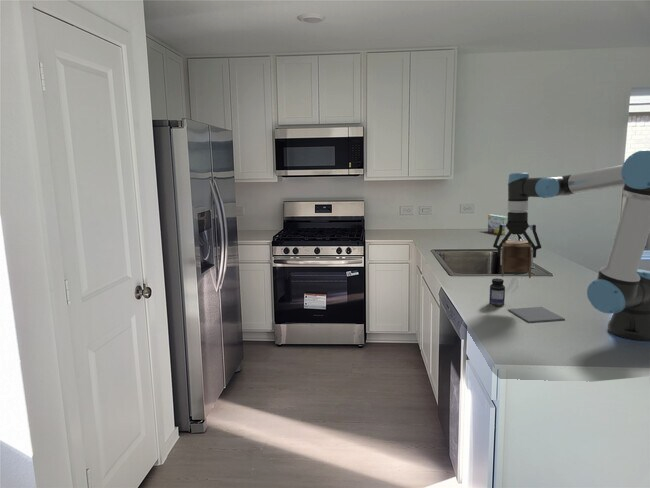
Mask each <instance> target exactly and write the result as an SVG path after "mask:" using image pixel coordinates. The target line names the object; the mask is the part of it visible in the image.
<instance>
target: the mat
mask: <svg viewBox="0 0 650 488" xmlns="http://www.w3.org/2000/svg"><path fill="white" fill-rule="evenodd" d="M507 311H509V313H512V314H513V315H515V316H517V317H518V318H520V319H522V320H523V321H525V322H526V323H529V324H532V323H541V322H543V323H544V322H557V321H558V322H559V321H565V320H566V318H565V317H562V316H560V315H559V314H557V313H555V312H553V311H551V310H550V309H547V308H545V307H543V306H532V307H531V306H530V307H519V308H518V307H516V308H508V309H507Z"/></svg>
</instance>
